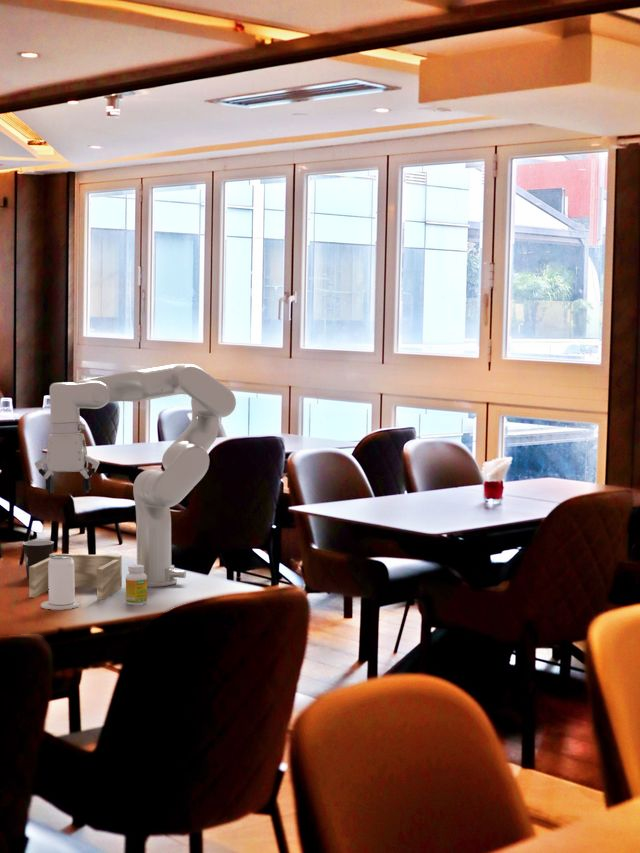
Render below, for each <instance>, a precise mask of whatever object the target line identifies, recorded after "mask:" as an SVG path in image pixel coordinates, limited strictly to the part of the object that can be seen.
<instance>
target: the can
mask: <svg viewBox="0 0 640 853" xmlns="http://www.w3.org/2000/svg"><path fill="white" fill-rule="evenodd" d="M72 557H73V556H72V555H53V556H50V560H49V563H48V585H49V590H48V601H49V603H50V604H51V605H55V606H64V605H70V604H73V602H74V601H75V600H76V598H75V588H76V587H75V581H74V561H73V559H72Z"/></svg>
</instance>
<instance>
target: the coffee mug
mask: <svg viewBox="0 0 640 853" xmlns="http://www.w3.org/2000/svg"><path fill="white" fill-rule="evenodd" d="M54 544H55V542H54V541H52V540H43V539H42V540H29V541H28V540H27V541H24V542H22V548H23V557H24V562H25V569H26V570H25V571H26V577H27V578H28V579H27V580H29V567H30V566H32V565H34V564H36V563H39V562H41V561H43V560H45V559H47V558H49V555H50V554H54V546H55V545H54Z"/></svg>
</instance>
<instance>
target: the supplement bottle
mask: <svg viewBox="0 0 640 853" xmlns="http://www.w3.org/2000/svg"><path fill="white" fill-rule="evenodd" d="M127 568H128V569H127V570H128V572H129V573H128V574H126V576H125V603H126V604H127V605H131V606H143V605H145V604H147V603H148V587H147V575H146V574H144V573H143V571H144V565H137V564H129V565H128V567H127Z"/></svg>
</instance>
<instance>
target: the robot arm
mask: <svg viewBox="0 0 640 853" xmlns="http://www.w3.org/2000/svg"><path fill="white" fill-rule="evenodd" d="M177 395H187V396H188V397H190V398H191V400H190V402H191V403H190V404H191V410H192V411H191V412H192V416H191V420H190V423H189V424H188V426H187V427H186V428H185V430H184V431H183V432H182V433H181V434H180V435H179V436H178V437H177V438H176V439H175V440H174V441H173V443H172V444H171V445H170V446H169V447H168V448H166V450H165V451H164V453H163V454H162V457H161V464H162V466H163V468H164V470H158V469H153V468H152V469H146V470H144V471H142V472H140V473H139V474H138V475H137V476H136V478H135V480H134V482H133V489H132V490H133V492H132V493H133V498H134V504H135V505H134V506H135V518H136V519H135V520H136V565H144V571H143V573H144V574H146V575H147V588H148V587H149V588H156V587H168V586H172V585H175V584H177V583H178V578H179V579H186V577H187V571H186V570H182V569H181V570H180V569H179V570H177V569H175V565H174V564H172V516H171V515H172V514H171V508H172V507H174V506H176V505H178V504H179V503H181V501H183V499H185V497H186V496H187V495H188V494H189V493H190V492H191V491H192V490H193V489H194V487H195V486H197V484H198V483H199V482H200V481H201V480H202V479H203V478H204V476H205V475H206V473H207V472H208V470H209V466H210V456H209V453H208V450H209V449H210V448H211V447H212V445H213V444H215V441H216V439H217V437H218V435H219V429H220V418H221V419H222V418H226V417H228V416H230V415H231V414H233V412H234V411H235V408H236V404H237V400H236V399H237V398H236V397H235V394H234V393H233V391H232V390H231V389H230V388H229V387H227V386H226V385H225V384H224V383H222V382H221V381H219V380H218V379H216V378H215V377H214V376H212V375H211V374H210V373H208V372H207V371H206V370H204V369H203V368H201V367H199V366H198V365H195V364H191V363H174V364H173V363H172V364H167V365H162V366H155V367H150V368H144V369H137V370H132V371H131V370H130V371H126V372H122V373H121V372H120V373H116V374H115V373H114V374H109V375H101V376H96V377H90V378H85V379H80V380H77V381H76V382H73V381H72V382H71V381H70V382H69V381H65V382H64V381H63V382H53V383H51V384H50V386H49V405H50V406H49V407H50V409H49V410H50V427H51V428H50V432H51V434H49V435H48V440H47V441H48V442H47V449H46V456H44V457H43V458H41V459H38V461H35V462H34V466H35V467H36V469H37V471H38V473H39V474H40V475H41V476H42V477H43V479H45V491H47V495H51V494H53V493H55V487H54V477H53V475H54V474H55V473H77V472H79V473H80V474H81V475H82V476H83V478H82V494H85V495H86V494H88V493H90V491H91V487H92V486H91V477H92V476H93V475H94V474H95V473H96V472H97V469H98V467H99V465H100V464H101V463H100V461H99V460H97V459H96V458H93V457H91V456H90V455H89V454H88V450H87V448H88V447H87V444H86V442H87V441H86V438H85V434H84V433H82V430H86V424H83V423H82V421H81V419H80V418H81V417H80V409H91V410H92V409H93V410H96V409H97V410H98V409H101V408H103V407H105V406H106V405H107V404H108V403H116V402H117V403H118V402H133V403H134V402H145V401H150V400H155V399H161V398H167V397H171V396H172V397H173V396H177ZM89 463H90V464H91V467H90V469H88V467H89ZM44 464H46V468H47V470H46V469H45V468H44V467H43V465H44Z"/></svg>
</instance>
